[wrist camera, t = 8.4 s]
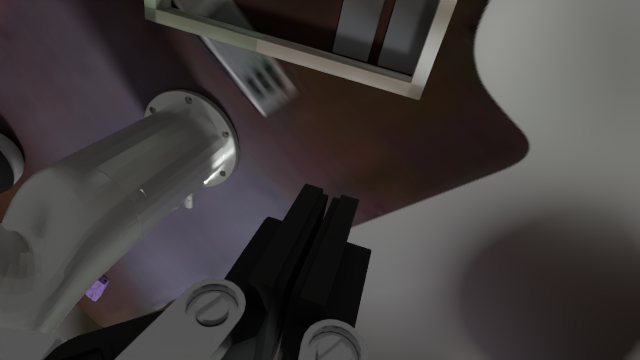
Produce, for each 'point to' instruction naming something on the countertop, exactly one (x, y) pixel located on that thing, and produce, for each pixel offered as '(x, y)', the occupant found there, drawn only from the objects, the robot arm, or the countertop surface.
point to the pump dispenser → (9, 163)
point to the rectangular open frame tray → (343, 40)
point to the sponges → (97, 288)
